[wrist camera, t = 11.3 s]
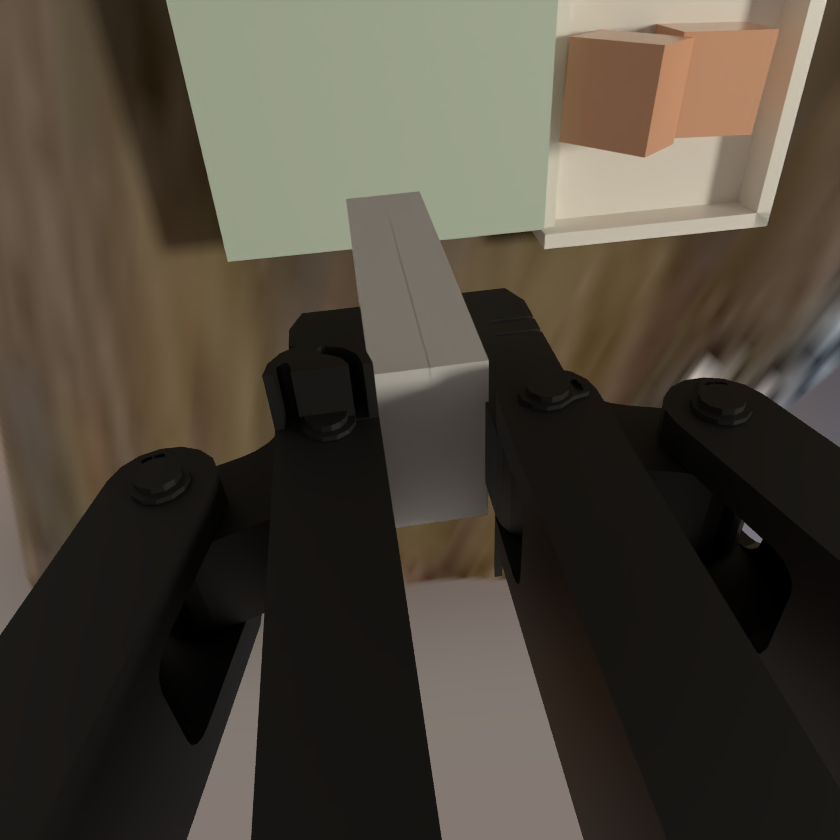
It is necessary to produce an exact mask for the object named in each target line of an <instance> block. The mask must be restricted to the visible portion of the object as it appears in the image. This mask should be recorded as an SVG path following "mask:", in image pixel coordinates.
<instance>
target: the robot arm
mask: <svg viewBox="0 0 840 840" xmlns="http://www.w3.org/2000/svg"><path fill="white" fill-rule="evenodd" d="M346 203H347V211H348V219H349V227H350V235H351V243H352V251H353V259H354V267H355V275H356V283H357V291H358V299H359V307H354V308H345V309H337V310H328V311H319V312H310V313H302V314H301V316H300V317H299V318H298V319H297V321H296V322H295V323H294V325H293V326H292V327H291V328H290V330H289V350H287V351H285V352H282V353H280V354H279V355H278V356H276V357H275V358H274V359H273V360H272V361H271V362H269V363H268V364H267V366H266V369H265V371H264V373H263V375H262V377H263V381H264V385H265V389H266V394H267V398H268V402H269V406H270V410H271V415H272V419H273V423H274V427H275V437H274V438H273V439H272V440H271V441H270V442H269V443H267V444H266V445H264V446H263V447H261V448H260V449H258V450H257V451H255V452H252V453H250V454H248V455H246V456H243V457H241V458H238V459H235V460H232V461H230V462H227V463H224V464H221V465H218V466H216V465H215V462H214V460H213V458H212V457H210V456H209V455H207V454H206V453H204V452H202V451H201V450H198V449H192V448H186V447H175V448H165V449H159V450H156V451H153V452H150V453H147V454H144V455H141V456H139V457H137V458H136V459H134V460H132V461H131V462H129V463H127V464H126V465H124V466H122V467H121V468H120V469H119V470H118V471H117V472H116V473H115V474H114V475H113V476H112V477H111V478H110V479H109V480H108V481H107V482H106V484H105V485H104V487H103V488H102V489H101V491H100V492H99V494H98V495H97V497H96V498H95V499H94V501H93V502H92V504H91V505H90V507H89V508H88V510H87V511H86V512H85V514H84V515H83V517H82V518H81V520H80V521H79V523H78V524H77V525H76V527H75V528H74V530H73V531H72V533H71V534H70V535H69V537H68V538H67V540H66V541H65V543H64V544H63V546H62V547H61V548H60V550H59V551H58V553H57V554H56V556H55V557H54V559H53V560H52V561H51V563H50V564H49V566H48V567H47V569H46V570H45V571H44V573H43V574H42V576H41V577H40V579H39V580H38V582H37V583H36V584H35V586H34V587H33V589H32V590H31V592H30V593H29V595H28V596H27V597H26V599H25V600H24V602H23V603H22V605H21V606H20V607H19V609H18V610H17V612H16V613H15V615H14V616H13V618H12V619H11V620H10V622H9V623H8V625H7V626H6V628H5V629H4V631H3V632H2V633H1V635H0V840H187V837H188V834H189V831H190V828H191V825H192V822H193V820H194V816H195V814H196V810H197V808H198V805H199V802H200V799H201V796H202V793H203V790H204V788H205V784H206V782H207V779H208V776H209V773H210V770H211V767H212V764H213V761H214V758H215V755H216V752H217V750H218V746H219V744H220V741H221V738H222V735H223V732H224V729H225V726H226V723H227V721H228V717H229V715H230V712H231V709H232V706H233V703H234V700H235V697H236V694H237V691H238V688H239V685H240V683H241V680H242V677H243V674H244V671H245V668H246V665H247V662H248V659H249V657H250V654H251V651H252V648H253V644H254V642H255V639H256V636H257V633H258V630H259V627H260V624H261V616H262V614H263V613H264V630H263V631H264V632H263V647H262V664H261V682H260V699H259V715H258V732H257V750H256V766H255V784H254V800H253V817H252V835H251V840H442V838H441V831H440V824H439V818H438V811H437V804H436V797H435V791H434V785H433V777H432V770H431V763H430V757H429V750H428V743H427V737H426V730H425V723H424V716H423V709H422V703H421V696H420V690H419V682H418V676H417V669H416V662H415V656H414V649H413V642H412V635H411V628H410V621H409V615H408V608H407V601H406V594H405V588H404V581H403V574H402V567H401V561H400V554H399V547H398V540H397V534H396V528H397V527H404V526H411V525H419V524H426V523H433V522H440V521H448V520H455V519H462V518H469V517H476V516H484V515H488V493H489V496H490V499H491V502H492V505H493V508H494V512H495V555H494V569H495V577H497V576H502V566H503V569H504V573H505V576H506V579H507V583H508V586H509V590H510V593H511V596H512V600H513V603H514V606H515V610H516V613H517V616H518V620H519V623H520V627H521V630H522V633H523V637H524V640H525V643H526V647H527V650H528V654H529V657H530V660H531V664H532V667H533V670H534V674H535V677H536V680H537V684H538V687H539V691H540V694H541V697H542V701H543V704H544V707H545V711H546V714H547V717H548V721H549V724H550V728H551V731H552V734H553V738H554V741H555V745H556V748H557V751H558V754H559V758H560V761H561V765H562V768H563V772H564V775H565V778H566V781H567V785H568V788H569V792H570V795H571V798H572V802H573V805H574V808H575V812H576V815H577V819H578V822H579V825H580V829H581V832H582V836H583V838H584V840H840V447H838V446H837V445H835V444H834V443H833V442H831V441H830V440H828V439H827V438H825V437H824V436H822V435H821V434H820V433H818V432H817V431H815V430H814V429H812V428H811V427H810V426H808V425H807V424H805V423H804V422H802V421H801V420H799V419H798V418H797V417H795V416H794V415H792V414H791V413H789V412H788V411H786V410H785V409H784V408H782V407H781V406H779V405H778V404H776V403H775V402H774V401H772V400H771V399H769V398H768V397H766V396H765V395H763V394H762V393H760V392H758V391H756V390H754V389H752V388H750V387H748V386H746V385H744V384H740V383H737V382H733V381H729V380H726V379H720V378H697V379H691V380H684V381H682V382H680V383H678V384H676V385H674V386H672V387H671V388H670V389H669V391H668V392H667V393H666V395H665V396H664V399H663V404H662V408H653V407H640V406H627V405H620V404H613V403H609V402H605V401H604V400H603V399H602V397H601V395H600V394H599V392H598V390H597V389H596V388H595V387H594V386H593V385H592V384H591V383H590V382H589V381H588V380H587V379H585V378H583V377H581V376H579V375H577V374H575V373H573V372H570V371H565V370H563V368H562V366H561V365H560V363H559V361H558V359H557V358H556V356H555V354H554V352H553V351H552V349H551V347H550V345H549V344H548V342H547V340H546V338H545V336H544V335H543V333H542V332H540V328H539V326H538V324H537V322H536V321H535V319H533V315H532V313H531V312H530V310H529V308H528V306H527V305H526V303H525V301H524V300H523V299H521V298H520V297H518V296H516V295H515V294H513V293H512V292H510V291H508V290H507V289H505V288H502V289H493V290H484V291H475V292H466V293H461V291H460V289H459V287H458V284H457V282H456V279H455V277H454V274H453V272H452V269H451V267H450V265H449V262H448V260H447V257H446V255H445V252H444V250H443V247H442V245H441V243H440V240H439V238H438V235H437V233H436V230H435V228H434V225H433V223H432V221H431V218H430V216H429V213H428V211H427V208H426V206H425V203H424V201H423V199H422V196H421V194H420V191H418V192H409V193H399V194H389V195H379V196H370V197H360V198H350V199H346ZM744 522H745V523H746V524H747V525H748V526H749V527H750V528H751V529H752V530H754V531H755V532H756V533H757V534H758V535H759V536H760V537H761V538H762V539H763V540H762V542H761V543H758V542H756V541H754V540H753V539H751V538H750V537H749V536H748V535H747V534H746V533H744V532H743V531H742V528H743V525H744Z"/></svg>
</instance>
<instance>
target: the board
mask: <svg viewBox="0 0 840 840" xmlns="http://www.w3.org/2000/svg"><path fill="white" fill-rule="evenodd" d="M166 2H167V6H168V11H169V15H170V19H171V23H172V27H173V32H174V36H175V40H176V44H177V49H178V53H179V57H180V61H181V65H182V70H183V74H184V78H185V82H186V87H187V91H188V95H189V99H190V104H191V108H192V112H193V116H194V120H195V125H196V129H197V133H198V137H199V142H200V146H201V150H202V154H203V158H204V163H205V167H206V171H207V175H208V180H209V184H210V188H211V192H212V196H213V201H214V205H215V209H216V213H217V218H218V222H219V226H220V230H221V235H222V239H223V243H224V247H225V251H226V256H227V260H228V262H229V261H239V260H249V259H259V258H269V257H279V256H288V255H298V254H308V253H318V252H328V251H338V250H348V249H352V243H351V235H350V227H349V219H348V211H347V203H346V199H350V198H360V197H370V196H379V195H389V194H399V193H409V192H418V191H420V194H421V196H422V199H423V201H424V203H425V206H426V208H427V211H428V213H429V216H430V218H431V221H432V223H433V225H434V228H435V230H436V233H437V235H438V238H439V240H446V239H456V238H466V237H475V236H485V235H495V234H505V233H515V232H525V231H534V230H544V222H545V205H546V189H547V173H548V156H549V140H550V124H551V108H552V91H553V75H554V59H555V42H556V26H557V10H558V0H166Z"/></svg>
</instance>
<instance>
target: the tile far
mask: <svg viewBox="0 0 840 840" xmlns="http://www.w3.org/2000/svg"><path fill="white" fill-rule="evenodd" d="M779 30H780V29H777V28H773V27H768V26H763V25H759V24H754V23H750V22H745V21H743V22H708V23H673V24H656V30H655V34H664V35H676V36H688V37H695V39H694V44H693V49H692V54H691V59H690V64H689V69H688V74H687V79H686V84H685V89H684V94H683V99H682V103H681V108H680V113H679V118H678V123H677V128H676V133H675V138H691V137H712V136H733V135H751V134H752V130H753V126H754V123H755V119H756V115H757V111H758V108H759V104H760V100H761V97H762V93H763V89H764V85H765V82H766V78H767V74H768V71H769V67H770V63H771V59H772V56H773V52H774V48H775V44H776V41H777V37H778V33H779Z"/></svg>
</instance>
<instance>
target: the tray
mask: <svg viewBox="0 0 840 840" xmlns="http://www.w3.org/2000/svg"><path fill="white" fill-rule="evenodd" d="M826 2H827V0H558V10H557V26H556V42H555V59H554V75H553V91H552V108H551V124H550V140H549V156H548V173H547V189H546V205H545V222H544V230H534V231H532V233H533V234H534V236H535V237H536V238H537V240H538V241H539V242H540V244H541V245H542V247H543V248H544V249H550V248H560V247H569V246H579V245H589V244H598V243H608V242H618V241H627V240H637V239H646V238H656V237H666V236H675V235H685V234H695V233H704V232H714V231H723V230H733V229H743V228H752V227H762V226H767V224H768V220H769V216H770V212H771V209H772V205H773V201H774V197H775V194H776V190H777V186H778V182H779V178H780V175H781V171H782V167H783V163H784V160H785V156H786V152H787V148H788V145H789V141H790V137H791V133H792V130H793V126H794V122H795V118H796V114H797V111H798V107H799V103H800V99H801V96H802V92H803V88H804V84H805V81H806V77H807V73H808V69H809V66H810V62H811V58H812V54H813V51H814V47H815V43H816V39H817V35H818V32H819V28H820V24H821V20H822V17H823V13H824V9H825V5H826ZM743 21H745V22H750V23H754V24H759V25H763V26H768V27H773V28H777V29H780V30H779V33H778V37H777V41H776V44H775V48H774V52H773V56H772V59H771V63H770V67H769V71H768V74H767V78H766V82H765V85H764V89H763V93H762V97H761V100H760V104H759V108H758V111H757V115H756V119H755V123H754V126H753V130H752V134H751V135H733V136H712V137H691V138H674V143H673V144H672V145H670V146H668V147H666V148H664V149H662V150H660V151H658V152H656V153H654V154H651V155H649V156H647V157H645V158H643V157H638V156H633V155H627V154H622V153H617V152H611V151H606V150H601V149H596V148H590V147H585V146H580V145H574V144H569V143H564V142H559V138H560V129H561V119H562V110H563V100H564V91H565V81H566V72H567V63H568V53H569V44H570V36H575V35H580V34H585V33H589V32H594V31H599V30H615V31H627V32H639V33H652V34H655V30H656V24H673V23H708V22H743Z"/></svg>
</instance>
